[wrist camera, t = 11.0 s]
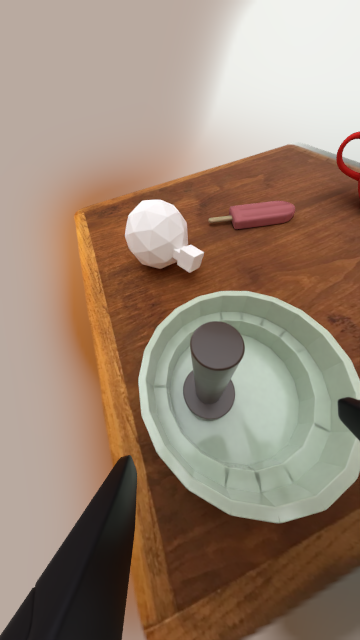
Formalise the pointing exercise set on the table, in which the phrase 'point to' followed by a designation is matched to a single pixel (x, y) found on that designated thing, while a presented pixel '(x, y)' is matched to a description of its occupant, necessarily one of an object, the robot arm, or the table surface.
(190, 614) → the table surface
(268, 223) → the popsicle
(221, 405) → the pestle
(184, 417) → the bowl
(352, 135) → the ceramic cup
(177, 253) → the perfume bottle
